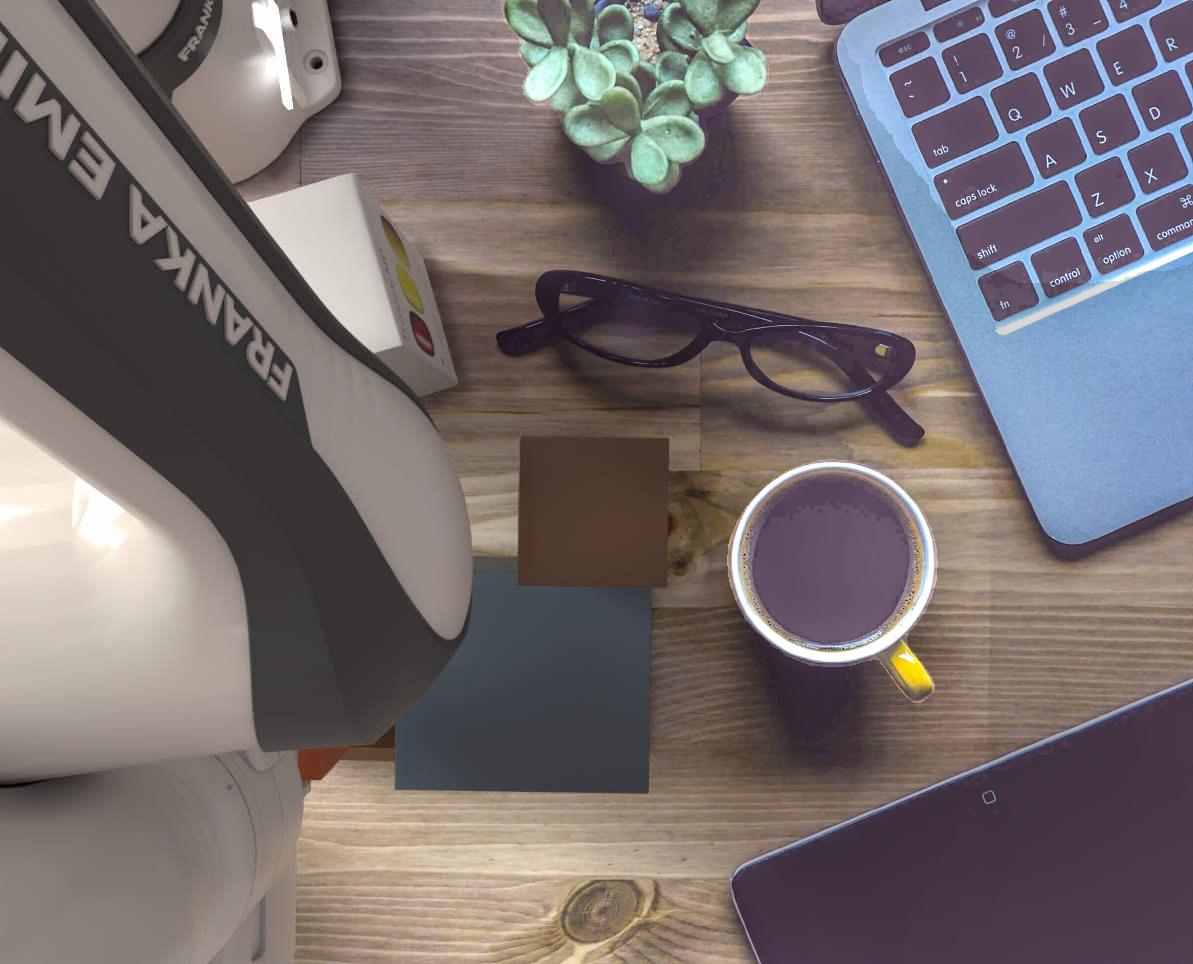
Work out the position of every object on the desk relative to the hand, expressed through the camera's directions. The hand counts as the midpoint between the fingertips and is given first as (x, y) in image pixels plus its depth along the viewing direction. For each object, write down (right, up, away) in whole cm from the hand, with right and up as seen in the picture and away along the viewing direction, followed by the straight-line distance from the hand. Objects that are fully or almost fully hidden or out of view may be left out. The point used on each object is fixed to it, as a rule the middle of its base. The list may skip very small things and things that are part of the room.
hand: (296, 714), depth 44 cm
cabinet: (+11, 0, +16) cm, 20 cm away
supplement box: (0, +21, +16) cm, 27 cm away
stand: (+15, +11, +16) cm, 24 cm away
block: (0, 0, +1) cm, 1 cm away
